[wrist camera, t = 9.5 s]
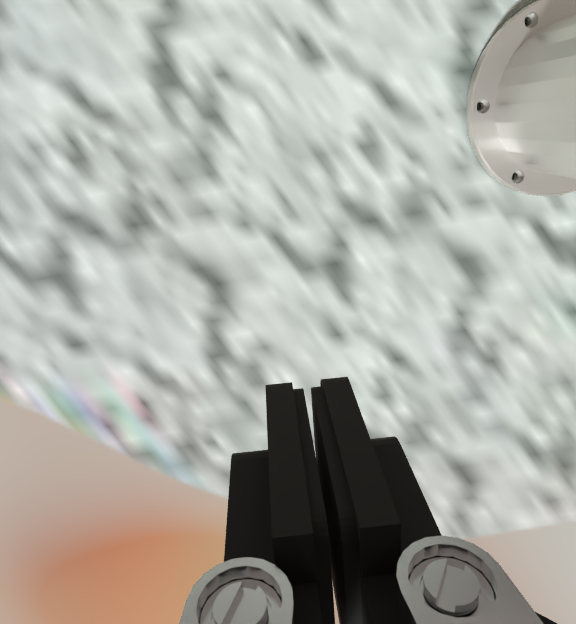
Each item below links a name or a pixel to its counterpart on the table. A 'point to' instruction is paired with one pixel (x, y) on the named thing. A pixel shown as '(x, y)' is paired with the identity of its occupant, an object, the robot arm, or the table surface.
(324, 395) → the robot arm
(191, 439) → the table surface
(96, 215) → the table surface
